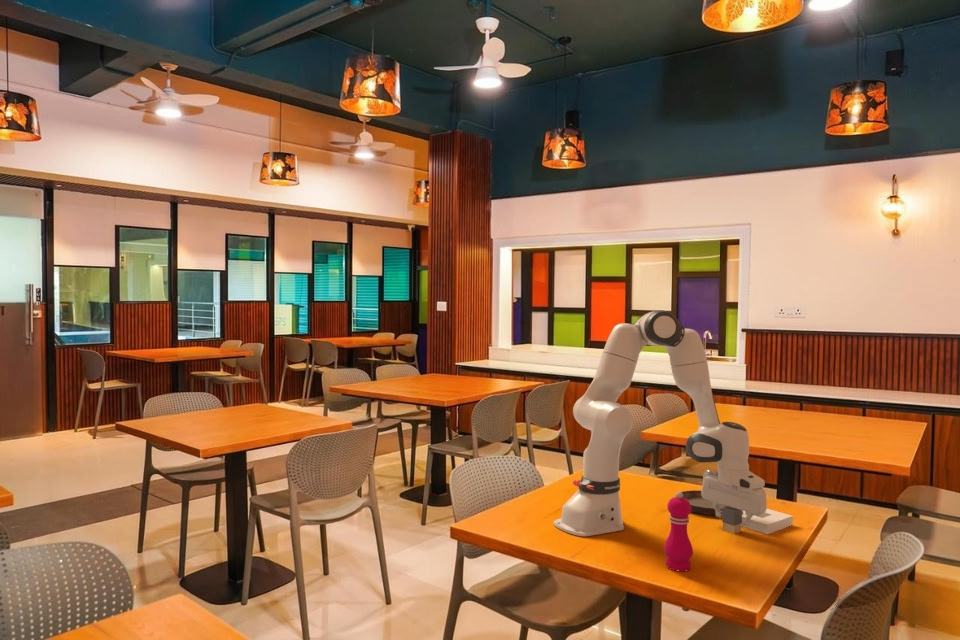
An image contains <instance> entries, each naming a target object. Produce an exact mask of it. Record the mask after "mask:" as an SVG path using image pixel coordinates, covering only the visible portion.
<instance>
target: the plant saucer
mask: <svg viewBox="0 0 960 640" xmlns="http://www.w3.org/2000/svg"><path fill="white" fill-rule="evenodd" d="M681 492H682V493H683V497H682V498H685V499H687V500H688V501H689V502H690V504H691V512H692V511H693V513H697V514H700V513H701V515H708V516H716V511H715V509H714V507H713V505H712V501H709V500H705V499H703V497H702V495H701V492H702V490H695V489H694V490H684V491H683V490H682V491H681ZM675 497H676V495H675ZM719 507H720V509H721V511H723V507H726V505H722V504H720V505H719Z"/></svg>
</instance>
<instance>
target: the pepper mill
mask: <svg viewBox="0 0 960 640" xmlns="http://www.w3.org/2000/svg"><path fill="white" fill-rule="evenodd" d="M682 492H683V491H677V492H676V493H675V496H676V497H672V498H670V499H669V501H668V503H667V510H668V511H667V512H668V513H669V515H668V516H669V519H668V520H669V522H670V531H669V534H668V536H667V538H666V541H665V543H664V549H663V551H664V554H665V555H666V559H665V566H666V567H667V566H668V567H669V568H671V569H674V570H679V571H685V572H687V571H686V570H689V569H690V568H691V567H692V562H691V558H692V557H693V554H694V549H693V545H692V543H691V540H690V538H689V535H688V534H689V533H688V524H689V523H690V517H689V515H690V514H691V512H692V511H691V504H690V502H689V501H688V500H687V499H685V498H682V497H683V493H682ZM669 568H668V569H669ZM671 569H670V570H671ZM690 570H691V569H690ZM690 570H689V571H690ZM679 571H678V572H679Z"/></svg>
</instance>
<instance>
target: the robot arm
mask: <svg viewBox="0 0 960 640" xmlns="http://www.w3.org/2000/svg"><path fill="white" fill-rule="evenodd" d="M702 341H703V340H702V339H701V336H700V334H699V333H698V332H697V330H695V329H692V328H685V327H684V326H683V324H681V323H680V320H678V318H677V317H676V316H675V315H674V314H673V313H671V312H670V311H667V310H654V311H649V312H647V313H645V314H643V315H641V316H640V317H638V319H637V320H635V321H634V322H633V323H632V324H631V323H626V322H625V323H624V322H623V323H618V324H616V325H615V326H614V327H613V329H612V330H611V332H610V333H609V336H608V338H607V339H606V342H605V345H604V348H603V351H602V354H601V357H600V360H599V364H598V366H597V369H596V373H595V375H594V377H593V380H592V381H591V383H590V385H589V386H588V388H587V390H586V391H585V393H584V394H582V396H581V397H580V398H578V399H577V400H576V401H575V403H574V404H573V408H572V415H573V417H574V419H575V421H576V422H577V423H578V424H579V425H580V426H581V427H582V428H584V429H586V430H589V431H590V433H591V434H590V435H591V436H590V440H589V443H588V445H587V447H585V449H584V451H583V458H582V459H583V461H582V462H583V463H582V466H583V467H582V468H583V469H582V476H581V478H580V480H578V479H577V478H575V479H573V480H572V485H573V486H576V487H577V488H578V489H577V491H575V493H574V494H573V495H572V496H571V497H570V498H569V499H567V501H566V502H565V503H564V504H563V506H562V511H561V517H560V518H557V519H554V520H553V525H554V526H555V527H556V528H557V529H559V530H561V531H563V532H565V533H568V534H571V535H574V536H577V537H583V538H584V537H591V536H596V535H602V534H608V533H615V532H621V531H624V530H625V525H624V521H623V516H622V515H623V514H622V508H621V507H622V506H621V499H620V491H621V478H620V477H619V473H620V471H619V469H620V453H621V448H622V445H623V442H624V440H625V437H626V436H628V435H629V433H630V432H631V431H632V428H633V425H634V418H633V415H632V412H631V411H630V410H629V409H627V408H626V407H625V406H624V405H622V404H620V403H619V402H617V401H618V400H619V397H620V396H621V395H622V394H623V392H624V391H626V390H627V389H629V388H630V386H631V384H632V380H633V376H634V373H635V371H636V367H637V364H638V361H639V357H640V353H641V352H642V349H644V347H663V348H664V349H665V350H666V352H667V354H668V356H669V361H670V369H671V374H672V377H673V380H674V382H675V385H676V386H677V388H678V389H679V390H681V391H683V392H684V393H686V394H687V395H688V396H690V398H691V400H692V402H693V404H694V408H695V409H694V410H695V414H696V418H697V421H698V429H697V430H696V431H695V432H694V433H692V434H691V435H689V436H688V438H687V440H686V442H685V449H686V453H687V455H688V456H689V457H690V458H691V460H693V461H694V462H695V461H696V462H698V463H717V471H714V470H710V469H707V470H704V472H703V474H702V475H703V476H702V480H703V481H702V486H701V491H702V492H701V495H702V497H703V499H705V500H709V501H712V505H713V507H714V509H715V511H716V515H715V517H717V518H719V519H720V518H721V519H722V513H723V511H721V509H720V507H719V505H720V504H722V505H726V506H729V507H732V508H736V509H739V510H743V511H745V515H747V516H746V518H744V519H742V525H745V526H749V524H750V519H751V518H752V516H753V515H754V514H756V515H760V514H763V513H764V512H765V511H766V509H768V504H767V503H768V502H767V494H766V491H765V489H764V488H763V487H765V486H766V485H765V484H766V482H765V481H766V480H764V479H763V478H761V477H760V476H758V475H756V474H755V473H753V472H752V471H750V466H749V460H748V459H749V455H750V440H749V438H750V437H749V433H748V430H747V428H746V427H745V426H743V425H742V424H739V423H736V422H733V421H722V422H721V421H720V418H719V415H718V410H717V407H716V403H715V398H714V395H713V391H712V385H711V377H710V371H709V364H708V359H707V354H706V351H705V350H706V349H705V348H704V343H703V342H702Z"/></svg>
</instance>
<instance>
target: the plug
mask: <svg viewBox="0 0 960 640" xmlns="http://www.w3.org/2000/svg"><path fill="white" fill-rule="evenodd" d="M721 519H722V520H721V521H722V522H721V523H722V531H723V532H727V533H730V534H734V535H735V534H737V533H741V532H742V526H741V523H742V510H739V509H736V508H732V507H729V506H726V507H723V513H722V517H721Z"/></svg>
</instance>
